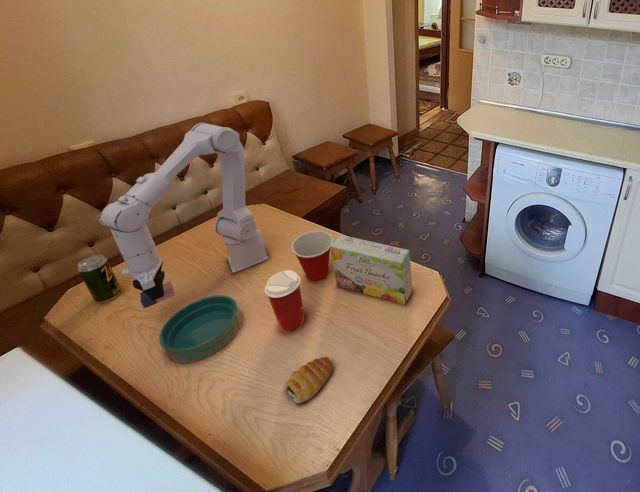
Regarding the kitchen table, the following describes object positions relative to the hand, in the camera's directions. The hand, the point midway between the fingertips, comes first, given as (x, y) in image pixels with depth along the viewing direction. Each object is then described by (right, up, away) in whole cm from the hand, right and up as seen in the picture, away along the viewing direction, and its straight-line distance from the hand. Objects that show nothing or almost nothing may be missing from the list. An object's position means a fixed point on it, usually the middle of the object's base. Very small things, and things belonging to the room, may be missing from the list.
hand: (157, 293), depth 87 cm
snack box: (+50, -5, +13) cm, 52 cm away
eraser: (0, -1, 0) cm, 2 cm away
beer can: (-21, -5, +9) cm, 24 cm away
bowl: (+12, -10, -1) cm, 15 cm away
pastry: (+42, -15, -11) cm, 46 cm away
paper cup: (+31, -9, +3) cm, 33 cm away
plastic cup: (+32, -2, +18) cm, 37 cm away
